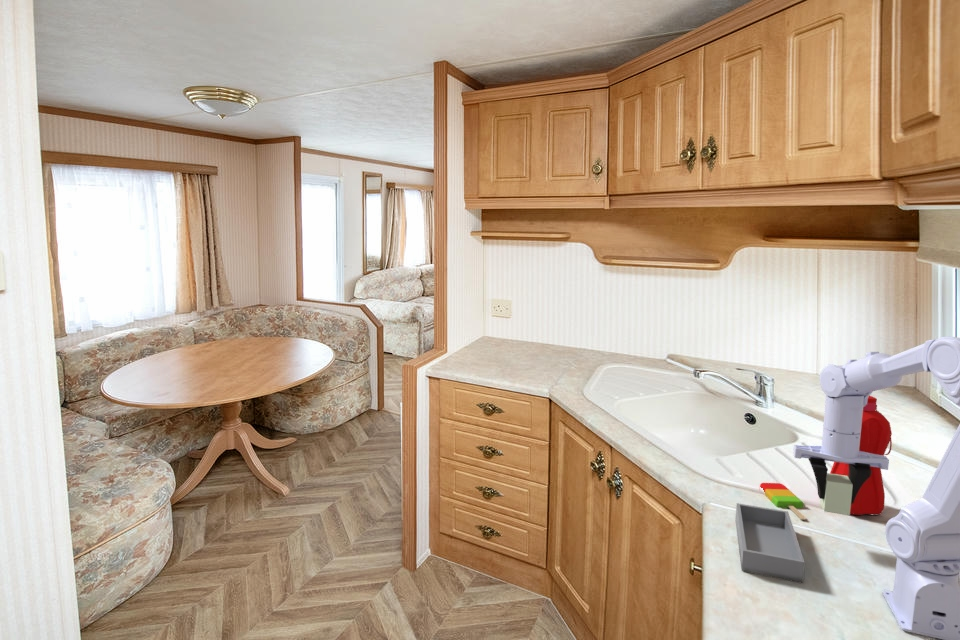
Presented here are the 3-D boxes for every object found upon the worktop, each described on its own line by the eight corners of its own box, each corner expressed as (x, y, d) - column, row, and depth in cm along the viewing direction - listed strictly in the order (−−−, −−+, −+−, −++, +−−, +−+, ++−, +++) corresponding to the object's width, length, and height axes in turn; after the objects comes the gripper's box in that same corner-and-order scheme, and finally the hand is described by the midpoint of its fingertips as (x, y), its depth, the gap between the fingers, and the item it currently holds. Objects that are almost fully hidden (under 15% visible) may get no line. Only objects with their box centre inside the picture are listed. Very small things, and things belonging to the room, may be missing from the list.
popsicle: (782, 490, 122) (782, 482, 122) (818, 524, 107) (818, 515, 107) (757, 489, 123) (758, 481, 122) (790, 523, 108) (790, 514, 108)
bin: (802, 583, 88) (804, 562, 87) (741, 570, 92) (743, 550, 91) (786, 529, 105) (788, 511, 104) (735, 520, 108) (736, 503, 108)
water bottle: (899, 519, 108) (912, 401, 105) (843, 517, 109) (854, 400, 106) (870, 497, 117) (881, 389, 114) (818, 496, 118) (828, 388, 115)
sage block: (849, 515, 96) (852, 484, 95) (824, 511, 98) (826, 481, 97) (844, 505, 100) (847, 475, 99) (819, 501, 101) (822, 472, 101)
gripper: (882, 427, 98) (875, 496, 99) (793, 418, 103) (787, 483, 105) (895, 440, 91) (887, 513, 93) (799, 429, 97) (793, 499, 99)
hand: (835, 498), depth 99 cm, fingers closed on sage block, 4 cm apart
